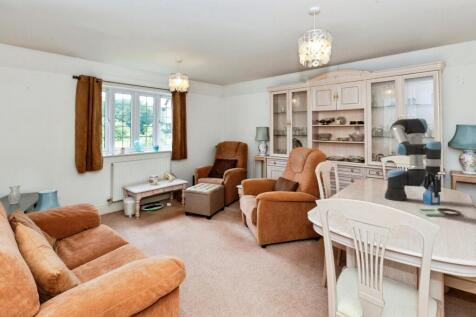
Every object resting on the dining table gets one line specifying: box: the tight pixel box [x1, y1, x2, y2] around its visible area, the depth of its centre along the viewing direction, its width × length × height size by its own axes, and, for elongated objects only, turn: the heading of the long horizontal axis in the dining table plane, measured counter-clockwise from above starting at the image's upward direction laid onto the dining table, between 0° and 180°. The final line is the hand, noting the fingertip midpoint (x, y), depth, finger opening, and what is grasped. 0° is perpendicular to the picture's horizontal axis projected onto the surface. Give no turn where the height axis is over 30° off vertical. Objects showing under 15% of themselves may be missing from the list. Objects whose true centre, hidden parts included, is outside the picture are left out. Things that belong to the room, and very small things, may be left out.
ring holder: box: [436, 207, 462, 217], centre depth 159 cm, size 12×12×1 cm
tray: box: [417, 208, 446, 217], centre depth 160 cm, size 10×10×2 cm
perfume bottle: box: [422, 184, 441, 206], centre depth 158 cm, size 6×6×12 cm
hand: (431, 200), depth 159 cm, fingers closed on perfume bottle, 7 cm apart
